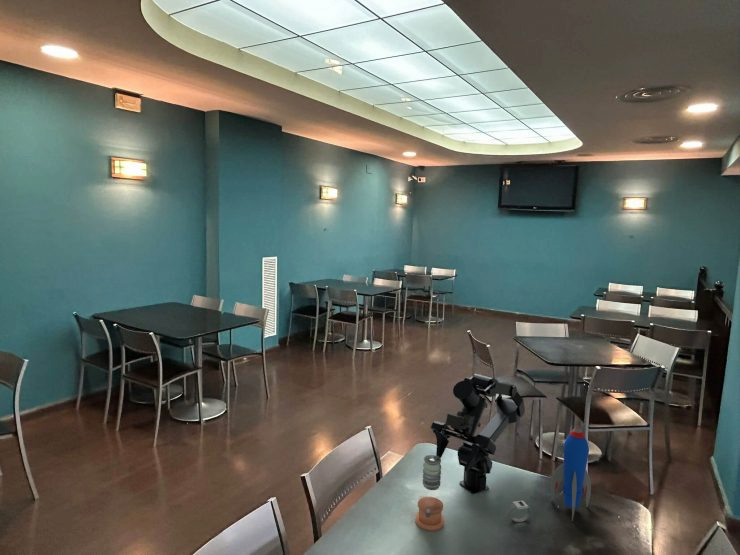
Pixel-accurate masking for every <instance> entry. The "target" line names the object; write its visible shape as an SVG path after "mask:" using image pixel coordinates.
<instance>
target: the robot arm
mask: <svg viewBox="0 0 740 555" xmlns="http://www.w3.org/2000/svg"><path fill="white" fill-rule="evenodd" d="M517 389H518V388H517V386H516V385H515V384H513V383H510V382H505V381H502V382H501V381H499V380H498V379H496V378H495V377H490V376H487V375H484V374H480V373H474V374H472V376H470V377H464V378H463V380H461V381H458V382H456V384H454V386H453V388H452V393H453V395H454V397H455V398H456V399H457V401H458V402H459V403H460V404H461V406H462V409H461V411H460V410H458V412H457V413H456V414H451V413H447V414H446V419H445V423H444V422H440V421H438V420H434V421H432V423H431V425H430V427H429V428H430V430H431V431H432V433H433V434H434V435H435V437H436V454H435V456H438V457H440V459H442V457H443V455H444V453H445V451H446V449H447V447H448V444H449V443H450V441H449V440H448V439H450V438H451V437H452V438H453V439H454V438H455V439H457V440H460V441H462V444H461V445H460V446H459V447H458V450H457V459H458V465H459V466H461V467H462V466H463V480H461V481H459V485H461V486H462V487H463V488H465V489H466V490H467V491H468V492H469V493H471V494H473V495H476V494H478V493H481V492H484V491H487V490H489V489H490V486H488V485H487V475H488V474H491V471H492V468H493V461H492V459H490V455H492V456H494V455H495V453H496V450H497V446H496V443H495V442H496V441H497V439H498V438H499V437H500V436H501V435H502V433H503V432H504V431H505V429H506V428H507V427H508V426H509V424H511V425H512V424H515V423H517V422H519V420H520V419H522V417H524V415H525V409H526V406H525V402H524V399H523V397H522V396H521V395H520V393H519V392H518V390H517ZM496 395H497V397H496V398H495V403H496V413H495V414H494V416H493V417H492V418H491V419H490V420H489V421H488V423H487V424H486V425H485V426H484V428H483V429H482V430H481V431H480V432H479V434H477V435H475V434H476V432H477V429H478V428H480V427H481V425H482V423H481V422H480V421H481V419H482V415H483V413H484V412H485V409H488V402H487V399H486V398H485V397H488V398H493V397H495V396H496ZM483 396H484V397H483ZM504 396H507V397H504ZM508 397H510V398H508Z"/></svg>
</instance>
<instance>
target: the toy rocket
mask: <svg viewBox="0 0 740 555" xmlns="http://www.w3.org/2000/svg"><path fill="white" fill-rule="evenodd" d="M589 447H590V446H589V443H588V441H587V438H586V435H585V433H584V431H583V430H582V428H581V427H580V425H579V424H577V425H576V426H574V428H573V429H572V430H570V432H569V434H568V435H567V437H566V438H565V440H564V442H563V447H562V448H563V463H561V464H560V465H558V467H556V469H555V470H554V472H553V474H552V476H551V478H550V484H549V494H550V501H551V502H553V500H554V497H555V495H556V492H557V489H558V487H559V486H560V485H561V483H563V485H562V493H563V494H564V495H563V503H564V504H565V506H566V507H569V508H571V521H572V522H573V521H574V516H575V510H576V509H577V508H579V507H580V503H581V499H582V497H583V493H584V498H585V505H586V508H588V506H589V503H590V498H591V493H592V484H591V483H592V482H591V478H590V474H589V473H588V471H587V463H588V459H589V454H590V448H589Z"/></svg>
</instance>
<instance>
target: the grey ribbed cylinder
mask: <svg viewBox="0 0 740 555" xmlns="http://www.w3.org/2000/svg"><path fill="white" fill-rule="evenodd" d="M423 461H424V462H423V464H422V466H423V469H422V485H423V487H424V488H425V489H426V490H427V491H438V490H439V489H440V488H439V487H441V478H442V477H441V475H442V471H441V470H442V464H441V462H442V458H440V457H438V456H436V454H428V455H425V456H424V457H423Z"/></svg>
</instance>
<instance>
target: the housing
mask: <svg viewBox="0 0 740 555" xmlns="http://www.w3.org/2000/svg"><path fill="white" fill-rule="evenodd" d="M417 507H418V511H417V513H416V514H415V524H416V526H418V527H419V528H420V529H422V530H423V531H427V532H436V531H440V530H442V529H443V528H444V526H445V517H444V515H443V514H442V511H443V510H444V503H443V501H442V500H440V499H439V498H437V497H434V496H423V497H420V498H419V499H418V501H417Z"/></svg>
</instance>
